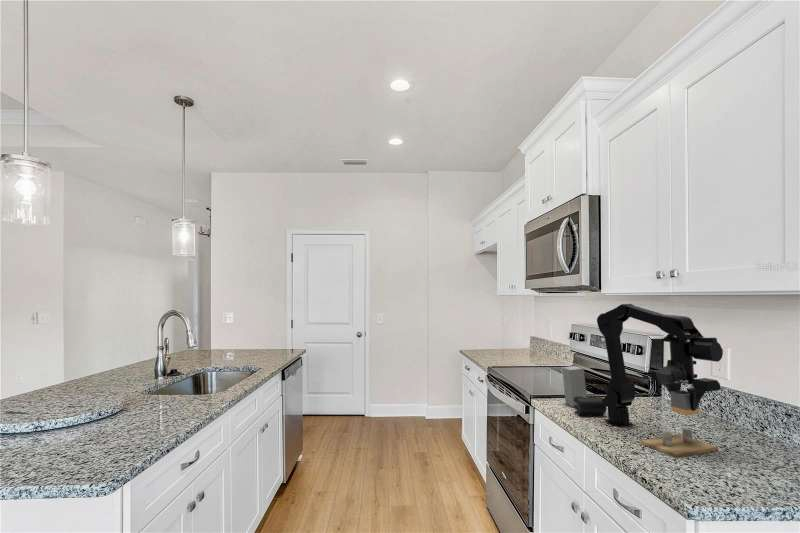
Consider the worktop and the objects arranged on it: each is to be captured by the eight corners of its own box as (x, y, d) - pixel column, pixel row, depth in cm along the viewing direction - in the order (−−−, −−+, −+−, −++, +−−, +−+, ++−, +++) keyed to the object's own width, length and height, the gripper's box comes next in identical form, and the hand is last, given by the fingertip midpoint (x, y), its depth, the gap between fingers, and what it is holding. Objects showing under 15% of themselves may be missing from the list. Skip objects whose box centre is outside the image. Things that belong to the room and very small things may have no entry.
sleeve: (683, 409, 128) (682, 390, 129) (699, 413, 123) (697, 393, 124) (671, 410, 127) (670, 391, 127) (686, 415, 122) (685, 395, 122)
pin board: (640, 443, 127) (639, 428, 127) (679, 437, 131) (678, 423, 132) (675, 457, 115) (674, 441, 116) (717, 450, 120) (716, 435, 120)
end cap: (580, 418, 154) (579, 399, 155) (573, 412, 161) (572, 395, 162) (607, 417, 154) (606, 399, 154) (598, 412, 161) (597, 394, 161)
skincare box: (588, 407, 167) (586, 368, 168) (571, 408, 167) (569, 369, 168) (580, 402, 175) (577, 365, 176) (563, 402, 175) (561, 365, 177)
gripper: (635, 354, 133) (638, 403, 132) (690, 363, 115) (694, 419, 114) (662, 352, 136) (665, 400, 135) (719, 361, 118) (723, 415, 117)
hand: (685, 408), depth 125 cm, fingers closed on sleeve, 5 cm apart
